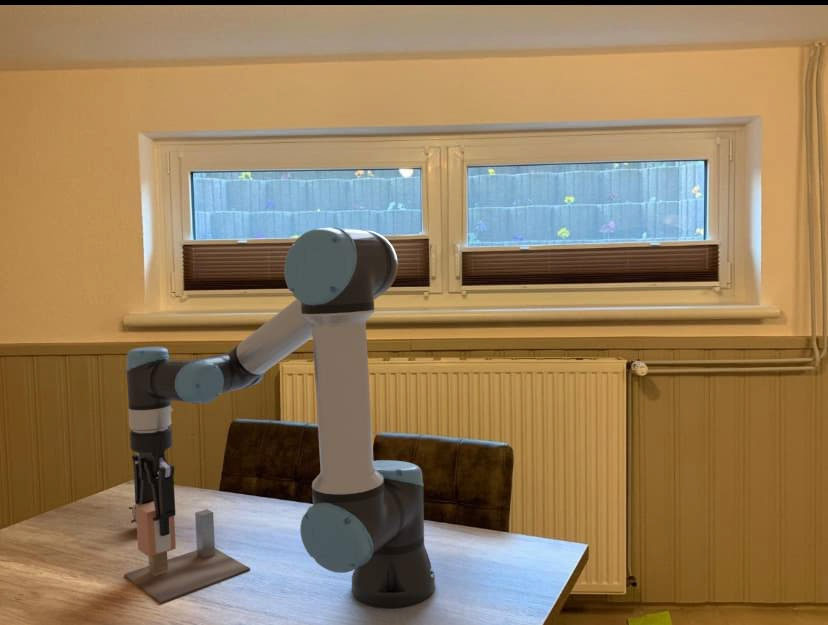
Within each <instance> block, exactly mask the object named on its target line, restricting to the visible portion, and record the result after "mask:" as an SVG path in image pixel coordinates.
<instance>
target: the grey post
mask: <svg viewBox="0 0 828 625" xmlns="http://www.w3.org/2000/svg"><path fill="white" fill-rule="evenodd" d="M194 514H195V518H194V519H195V536H196V537H195V538H196V550H197V556H199V557H200V558H202V559H206V558H209V557H211V556H214V555H215V548H216V547H215V546H216V544H215V543H216V542H215V527H214V526H215V525H214V524H215V523H214V512H213V511H212V510H210V509H202V510H200V511H196V512H195V513H194Z"/></svg>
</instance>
